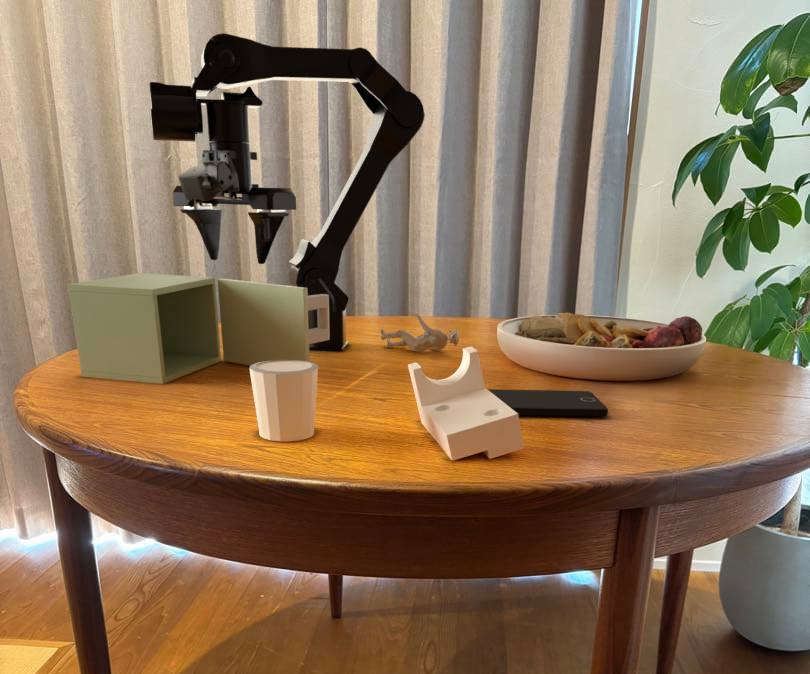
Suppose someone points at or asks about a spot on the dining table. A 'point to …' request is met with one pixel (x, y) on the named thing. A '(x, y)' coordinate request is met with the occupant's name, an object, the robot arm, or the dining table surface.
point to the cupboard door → (269, 321)
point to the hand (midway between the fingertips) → (237, 261)
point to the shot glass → (285, 398)
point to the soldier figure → (421, 338)
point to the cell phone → (552, 402)
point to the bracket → (465, 411)
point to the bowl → (602, 346)
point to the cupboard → (145, 326)
